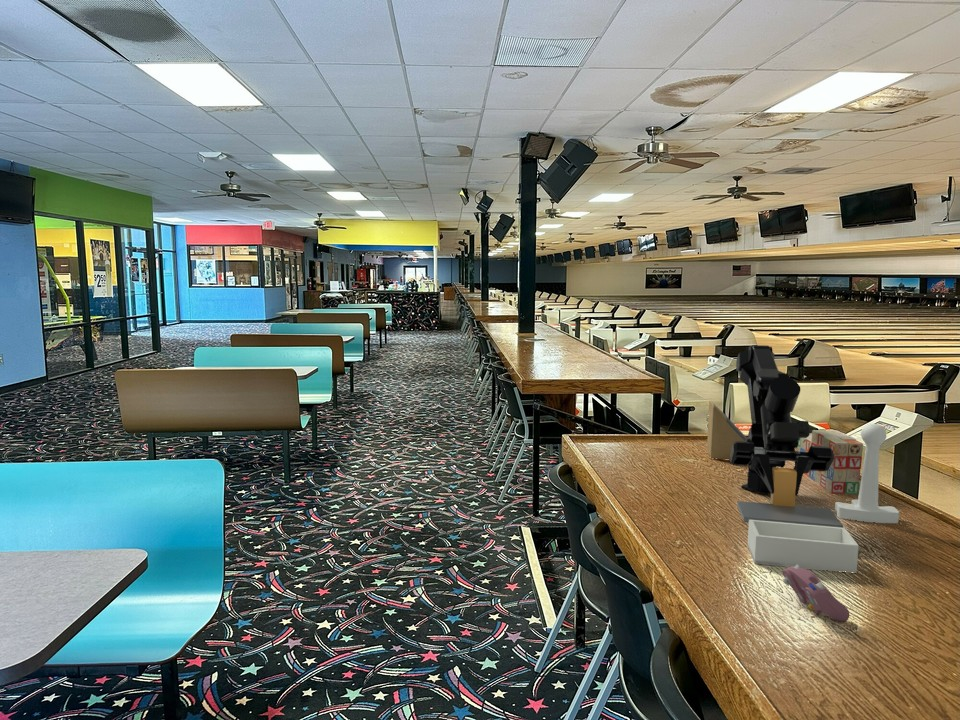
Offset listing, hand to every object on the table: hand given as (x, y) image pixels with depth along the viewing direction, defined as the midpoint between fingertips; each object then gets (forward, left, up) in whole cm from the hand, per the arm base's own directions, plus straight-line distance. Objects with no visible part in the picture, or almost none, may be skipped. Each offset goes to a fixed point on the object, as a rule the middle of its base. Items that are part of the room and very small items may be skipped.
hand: (784, 493), depth 129 cm
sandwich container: (-39, -35, -7) cm, 53 cm away
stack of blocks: (-38, -11, -7) cm, 41 cm away
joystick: (-21, +6, -7) cm, 23 cm away
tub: (+11, +9, -7) cm, 16 cm away
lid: (+3, +2, -4) cm, 6 cm away
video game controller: (+26, +19, -7) cm, 33 cm away
